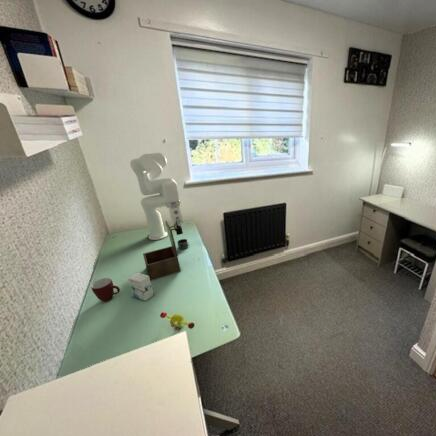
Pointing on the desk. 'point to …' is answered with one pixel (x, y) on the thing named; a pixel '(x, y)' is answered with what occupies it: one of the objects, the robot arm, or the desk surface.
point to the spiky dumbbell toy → (176, 320)
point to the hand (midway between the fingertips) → (178, 232)
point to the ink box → (141, 286)
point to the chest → (161, 262)
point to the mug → (104, 289)
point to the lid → (171, 237)
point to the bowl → (182, 243)
